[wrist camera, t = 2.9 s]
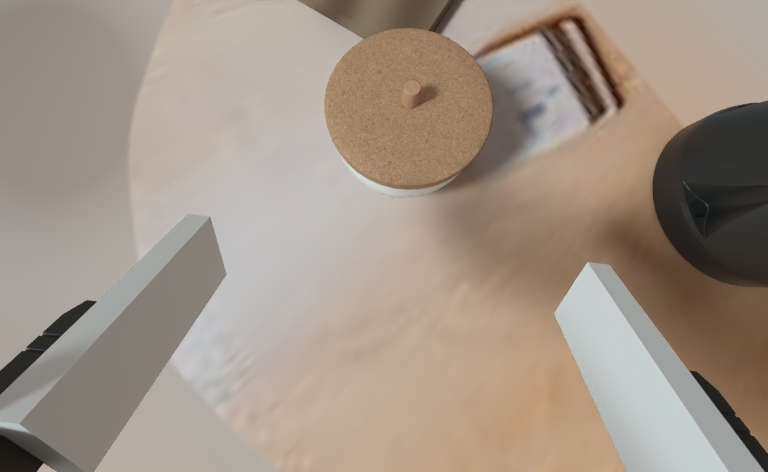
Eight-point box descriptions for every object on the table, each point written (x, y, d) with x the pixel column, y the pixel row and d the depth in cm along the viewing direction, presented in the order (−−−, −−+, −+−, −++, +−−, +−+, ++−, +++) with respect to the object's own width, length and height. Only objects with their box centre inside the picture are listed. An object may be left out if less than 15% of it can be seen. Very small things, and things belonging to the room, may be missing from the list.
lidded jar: (416, 74, 28) (434, -26, 19) (486, 169, 27) (542, 112, 18) (315, 135, 27) (283, 62, 18) (383, 236, 26) (387, 213, 17)
